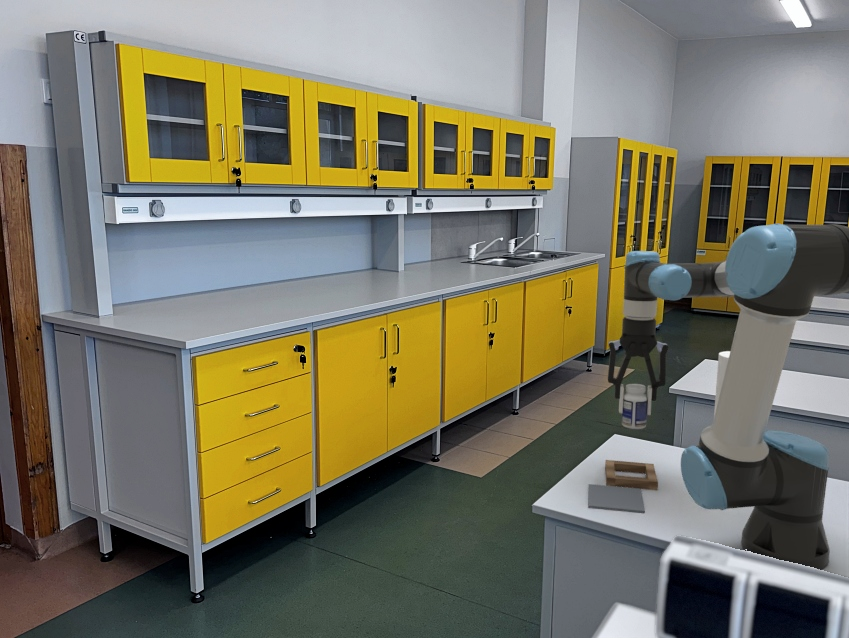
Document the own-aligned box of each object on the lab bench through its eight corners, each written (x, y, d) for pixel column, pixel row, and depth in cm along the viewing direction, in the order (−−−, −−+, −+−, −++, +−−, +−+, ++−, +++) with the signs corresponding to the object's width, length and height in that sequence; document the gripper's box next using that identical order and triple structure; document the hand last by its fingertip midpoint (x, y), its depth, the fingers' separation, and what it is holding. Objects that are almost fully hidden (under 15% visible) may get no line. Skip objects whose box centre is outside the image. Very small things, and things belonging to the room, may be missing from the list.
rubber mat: (645, 513, 151) (645, 511, 151) (588, 507, 154) (588, 505, 153) (640, 490, 162) (641, 488, 162) (588, 485, 165) (588, 483, 165)
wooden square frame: (657, 490, 163) (658, 482, 162) (606, 485, 165) (606, 477, 165) (653, 471, 174) (653, 463, 173) (605, 467, 176) (605, 459, 176)
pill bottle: (645, 423, 169) (648, 383, 167) (646, 430, 163) (649, 389, 162) (621, 421, 170) (623, 382, 169) (621, 428, 165) (623, 387, 163)
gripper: (679, 316, 164) (673, 410, 168) (598, 313, 168) (594, 405, 172) (683, 321, 157) (677, 419, 161) (598, 318, 161) (594, 414, 165)
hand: (634, 412), depth 166 cm, fingers closed on pill bottle, 6 cm apart
